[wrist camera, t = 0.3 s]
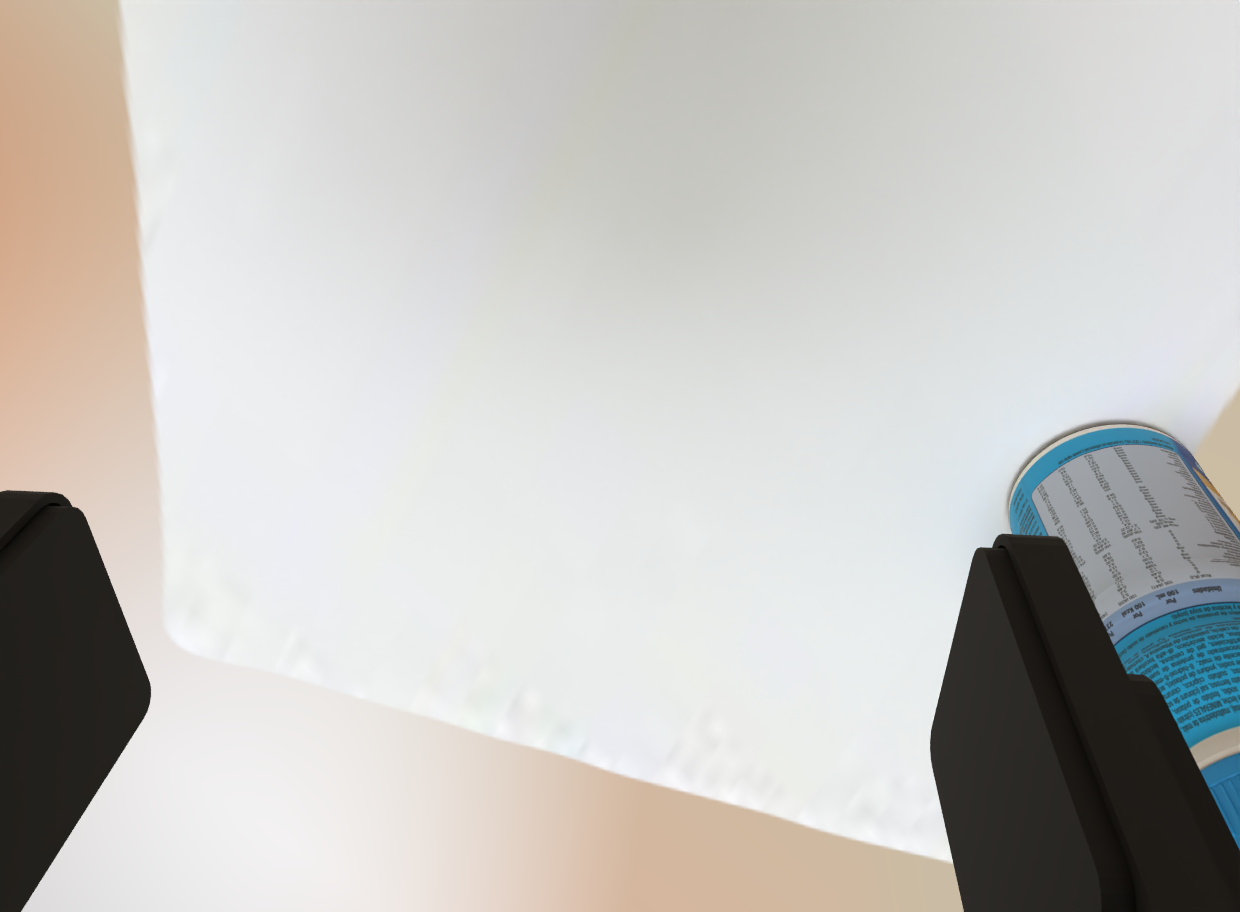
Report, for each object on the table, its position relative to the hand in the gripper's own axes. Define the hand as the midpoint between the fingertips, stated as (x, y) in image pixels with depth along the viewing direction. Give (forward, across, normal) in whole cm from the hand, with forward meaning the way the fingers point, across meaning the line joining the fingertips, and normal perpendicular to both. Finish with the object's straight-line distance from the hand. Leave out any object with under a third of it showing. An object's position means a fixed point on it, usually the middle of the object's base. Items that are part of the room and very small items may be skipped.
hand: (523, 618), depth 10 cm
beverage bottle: (+31, -20, +19) cm, 41 cm away
